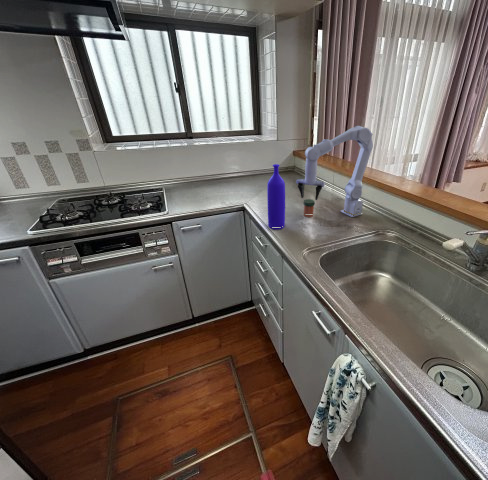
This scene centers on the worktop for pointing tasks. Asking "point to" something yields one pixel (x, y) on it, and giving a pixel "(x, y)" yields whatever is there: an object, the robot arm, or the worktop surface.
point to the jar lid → (309, 202)
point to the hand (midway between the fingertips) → (309, 198)
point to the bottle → (276, 200)
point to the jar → (308, 210)
